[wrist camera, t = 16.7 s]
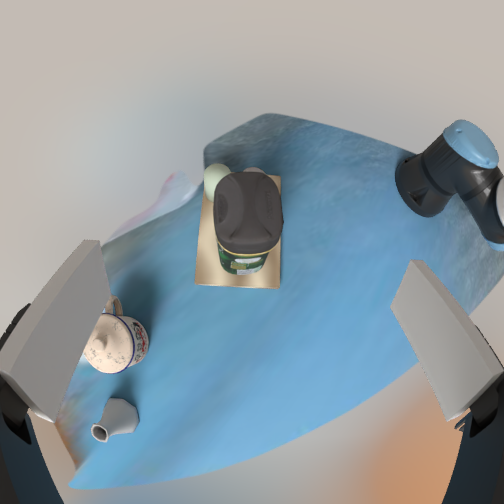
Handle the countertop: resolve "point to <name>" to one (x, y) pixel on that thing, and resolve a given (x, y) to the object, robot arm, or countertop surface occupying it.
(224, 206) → the coffee jar
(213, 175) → the sage tin
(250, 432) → the countertop surface
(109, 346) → the teacup with lid
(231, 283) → the birch board
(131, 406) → the flask
